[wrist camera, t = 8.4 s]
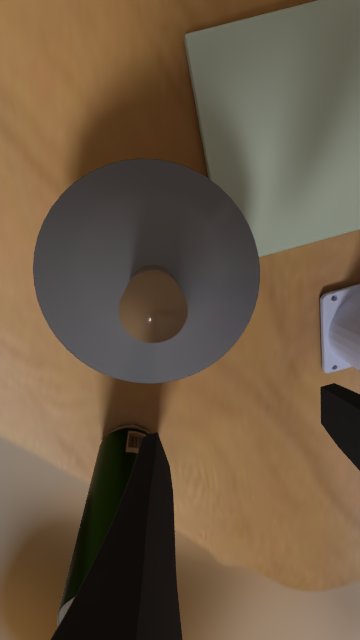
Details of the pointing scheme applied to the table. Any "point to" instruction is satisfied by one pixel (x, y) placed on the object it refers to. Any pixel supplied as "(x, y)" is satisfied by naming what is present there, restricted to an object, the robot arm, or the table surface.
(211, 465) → the table surface
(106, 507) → the beer can
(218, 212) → the lid
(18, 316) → the table surface
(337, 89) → the mat
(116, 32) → the table surface
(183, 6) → the table surface
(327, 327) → the robot arm
